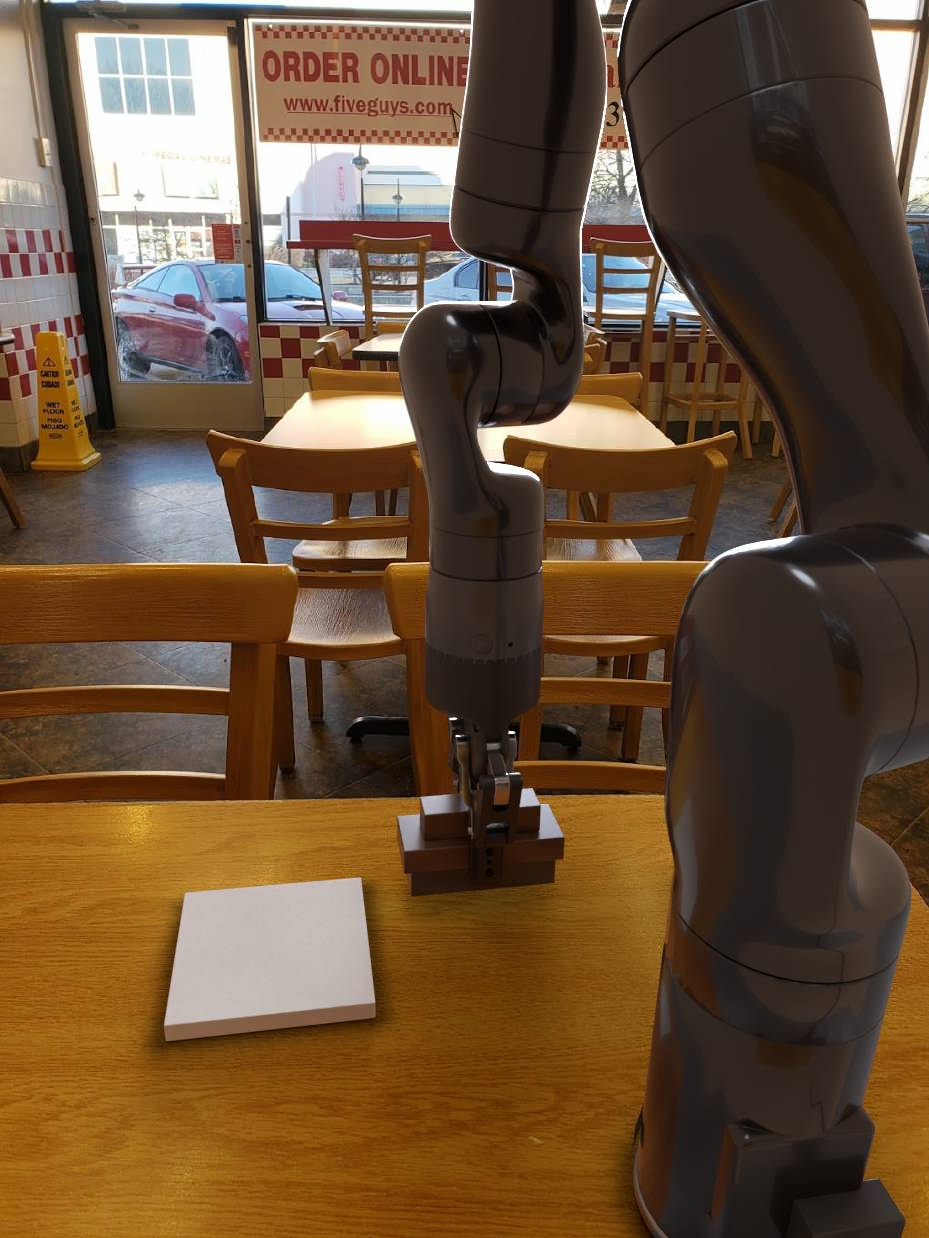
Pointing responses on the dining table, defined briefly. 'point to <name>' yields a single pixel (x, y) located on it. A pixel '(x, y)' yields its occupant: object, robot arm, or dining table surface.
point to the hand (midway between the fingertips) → (478, 858)
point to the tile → (270, 959)
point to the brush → (442, 846)
